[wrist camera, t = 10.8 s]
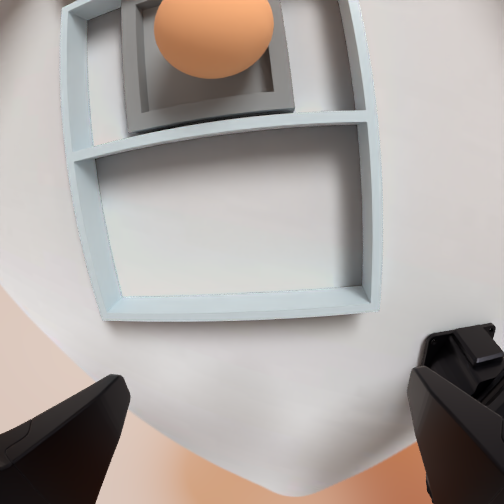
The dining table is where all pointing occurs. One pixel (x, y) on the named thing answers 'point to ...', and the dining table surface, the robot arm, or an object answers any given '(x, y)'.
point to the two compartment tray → (84, 153)
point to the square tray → (196, 78)
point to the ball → (213, 35)
